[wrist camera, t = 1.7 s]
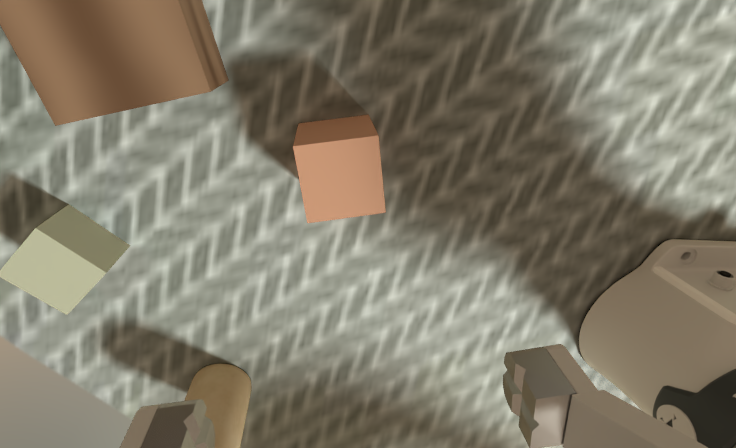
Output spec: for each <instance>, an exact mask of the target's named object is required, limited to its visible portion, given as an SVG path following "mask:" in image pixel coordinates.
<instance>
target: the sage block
mask: <svg viewBox="0 0 736 448" xmlns="http://www.w3.org/2000/svg"><path fill="white" fill-rule="evenodd" d="M129 246H130V245H129V244H127V243H126V242H124V241H123V240H121V239H120V238H118V237H117V236H115V235H114V234H112V233H111V232H109V231H108V230H106V229H105V228H103V227H102V226H100V225H99V224H97V223H96V222H94V221H93V220H91V219H90V218H89V217H87V216H86V215H84V214H83V213H81V212H80V211H78V210H77V209H75V208H74V207H72V206H71V205H69V204H68V205H67V206H66V207H64V208H63V209H61V210H60V211H59V212H57V213H56V214H54V215H53V216H52V217H50V218H49V219H47V220H46V221H45V222H43V223H42V224H40V225H39V226H38V227H36V228H35V229H34V230H33V232H32V233H31V234H30V235H29V236H28V238H27V239H26V240H25V241H24V242H23V244H22V245H21V246H20V247H19V248H18V250H17V251H16V252H15V253H14V254H13V256H12V257H11V258H10V259H9V261H8V262H7V263H6V264H5V265H4V267H3V268H2V269H1V270H0V277H1V278H3V279H4V280H6V281H8V282H10V283H11V284H13V285H15V286H17V287H18V288H20V289H22V290H24V291H25V292H27V293H29V294H31V295H33V296H34V297H36V298H38V299H40V300H41V301H43V302H45V303H47V304H48V305H50V306H52V307H54V308H55V309H57V310H59V311H61V312H62V313H64V314H66V315H67V314H68V313H69V312H70V311H71V310H72V309H73V308H74V307H75V306H76V305H77V304H78V303H79V302H80V301H81V299H82V298H83V297H84V296H85V295H86V294H87V293H88V292H89V291H90V290H91V289H92V288H93V287H94V286H95V285H96V283H97V282H98V281H99V280H100V279H101V278H102V277H103V276H104V275H105V274H106V273H107V272H108V270H109V269H110V268H111V267H112V266H113V265H114V264H115V262H116V261H117V260H118V259H119V258H120V257H121V256H122V254H123V253H124V252H125V251H126V250H127V249H128V248H129Z"/></svg>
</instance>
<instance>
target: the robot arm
mask: <svg viewBox="0 0 736 448" xmlns="http://www.w3.org/2000/svg"><path fill="white" fill-rule="evenodd" d="M579 347H580V352H581V355H582V357H583V359H584V360H585V362H586V363H587V364H588V365H589V366H590V367H591V368H593V369H594V370H596V371H597V372H598V373H600V374H601V375H602V376H604V377H605V378H606V379H608V380H609V381H610V382H611V383H613V384H614V385H615V386H616V387H617V388H618V389H620V390H621V391H622V392H623V393H624V394H625V395H626V396H627V397H628V398H629V399H631V400H632V401H633V402H634V403H635V404H636V405H637V406H638V407H639V408H640V409H641V410H642V411H641V410H639V409H637V408H636V407H634V406H632V405H630V404H628V403H626V402H625V401H623V400H621V399H619V398H617V397H616V396H614V395H612V394H610V393H608V392H607V391H605V390H600V391H598V390H597V388H596V387H595V386H594V384H593V383H592V382H591V381H590V379H589V378H588V377H587V375H586V374H585V373H584V371H583V370H582V369H581V367H580V366H579V365H578V363H577V362H576V361H575V360H574V358H573V357H572V356H571V354H570V353H569V352H568V350H567V349H566V348H565V346H563V345H561V344H557V345H551V346H544V347H537V348H531V349H525V350H519V351H513V352H507V353H506V354H505V357H504V364H505V366H506V368H507V371H506V373H505V374H504V375H503V388H504V394H505V397H506V400H507V403H508V405H509V407H510V409H511V411H512V412H513V413H515V414H516V415H518V416H519V428H520V430H521V432H522V434H523V436H524V438H525V440H526V442H527V444H528V446H529V448H542V447H550V446H557V445H563V447H564V448H736V242H735V241H709V240H683V239H671V240H667V241H665V242H663V243H662V244H661V245H659V246H658V247H657V248H656V249H655V250H654V251H653V252H652V253H651V254H650V255H649V257H648V258H647V259H646V260H645V261H644V262H643V263H642V265H641V266H639V267H638V268H637V269H635V270H634V271H633V272H631V273H629V274H628V275H626V276H625V277H623V278H622V279H620V280H619V281H617V282H616V283H615V284H613V285H612V286H611V287H610V288H609V289H607V290H606V291H605V292H604V293H603V294H602V295H601V296H600V297H599V298H598V299H597V301H596V302H595V303H594V304H593V306H592V307H591V309H590V310H589V312H588V313H587V315H586V317H585V319H584V321H583V324H582V327H581V330H580V335H579ZM206 409H207V407H206V405H205V403H204V401H203V400H202V399H197V400H189V401H181V402H172V403H164V404H159V405H151V406H143V407H141V408H140V409H139V410H138V411H137V412H136V414H135V416H134V419H133V421H132V423H131V425H130V427H129V429H128V431H127V433H126V436H125V437H124V440H123V442H122V444H121V446H120V448H215V430H214V425H213V423H212V420H211V419H209V418H207V417H206V416H205V413H206Z"/></svg>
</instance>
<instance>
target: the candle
mask: <svg viewBox="0 0 736 448" xmlns="http://www.w3.org/2000/svg"><path fill="white" fill-rule="evenodd" d="M250 394H251V380H250V378H249V376H248V375H247V374H246V373H245V372H244V371H243V370H242V369H240V368H238V367H236V366H233V365H229V364H212V365H208V366H206V367H204V368H202V369H201V370H199V371H198V372H197V373H196V375H195V376H194V378H193V380H192V382H191V385H190V387H189V390H188V393H187V396H186V398H185V401H189V400H197V399H202V400H203V401H204V403H205V405H206V407H207V409H206V413H205V416H206V417H207V418H209V419H211V420H212V423H213V425H214V430H215V448H240V445H241V440H242V435H243V430H244V425H245V420H246V415H247V410H248V405H249V400H250Z"/></svg>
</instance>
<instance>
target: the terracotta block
mask: <svg viewBox="0 0 736 448" xmlns="http://www.w3.org/2000/svg"><path fill="white" fill-rule="evenodd" d="M293 150H294V155H295V160H296V165H297V170H298V176H299V181H300V186H301V191H302V197H303V202H304V207H305V212H306V218H307V223H313V222H320V221H327V220H335V219H342V218H349V217H357V216H364V215H371V214H379V213H386V211H385V200H384V190H383V179H382V168H381V158H380V147H379V136H378V134H377V131H376V129H375V127H374V125H373V123H372V121H371V119H370V117H369V115H361V116H353V117H345V118H338V119H330V120H322V121H314V122H306V123H299V124H298V128H297V132H296V136H295V140H294V144H293Z"/></svg>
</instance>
